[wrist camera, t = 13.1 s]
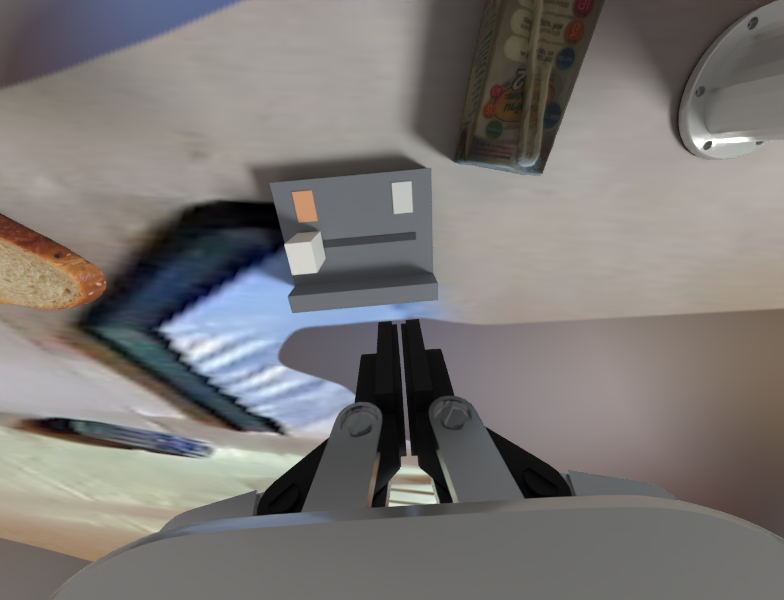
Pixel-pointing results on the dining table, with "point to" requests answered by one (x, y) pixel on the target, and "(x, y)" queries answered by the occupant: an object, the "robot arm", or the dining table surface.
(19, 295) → the bread slice
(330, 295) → the grey slide switch panel
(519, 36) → the beverage carton
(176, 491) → the dining table surface
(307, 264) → the knob
